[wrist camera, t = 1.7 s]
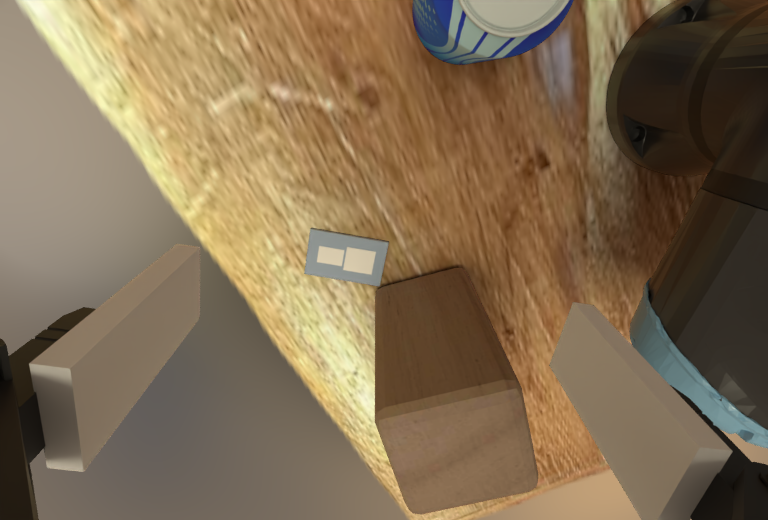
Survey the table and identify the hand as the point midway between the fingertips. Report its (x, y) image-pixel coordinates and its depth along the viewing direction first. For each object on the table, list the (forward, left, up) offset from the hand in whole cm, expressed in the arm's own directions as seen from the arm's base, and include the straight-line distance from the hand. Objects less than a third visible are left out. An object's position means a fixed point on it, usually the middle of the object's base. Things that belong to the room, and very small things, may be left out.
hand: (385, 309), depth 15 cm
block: (-8, +15, -29) cm, 33 cm away
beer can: (-4, -14, -29) cm, 32 cm away
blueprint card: (+2, +10, -28) cm, 30 cm away
